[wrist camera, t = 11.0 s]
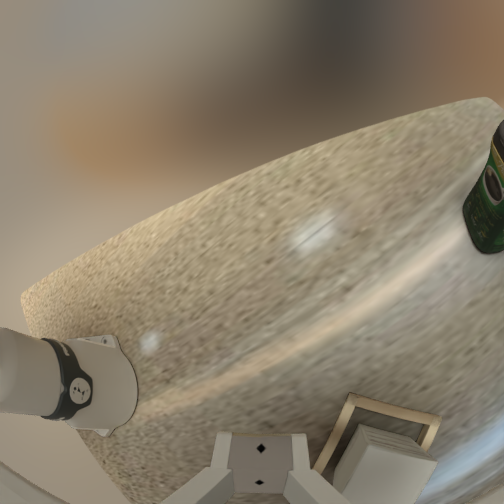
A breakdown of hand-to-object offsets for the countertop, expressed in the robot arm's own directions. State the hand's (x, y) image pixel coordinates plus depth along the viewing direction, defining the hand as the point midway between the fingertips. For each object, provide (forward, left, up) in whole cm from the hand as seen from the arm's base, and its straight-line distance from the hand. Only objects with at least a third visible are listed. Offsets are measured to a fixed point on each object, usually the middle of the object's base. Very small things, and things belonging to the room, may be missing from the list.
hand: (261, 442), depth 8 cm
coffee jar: (+27, +21, -27) cm, 43 cm away
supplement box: (+7, -8, -27) cm, 29 cm away
